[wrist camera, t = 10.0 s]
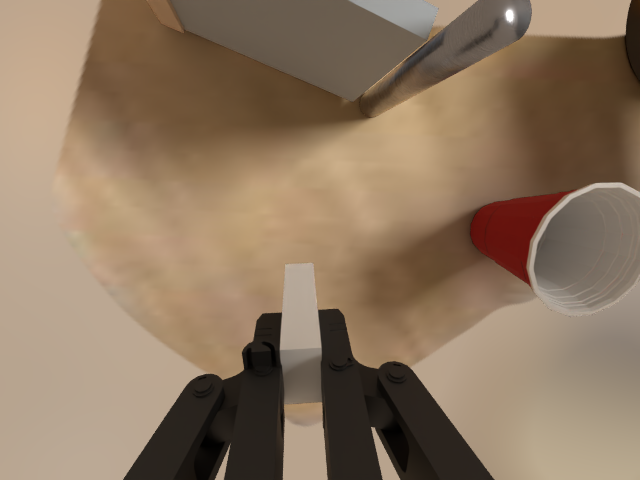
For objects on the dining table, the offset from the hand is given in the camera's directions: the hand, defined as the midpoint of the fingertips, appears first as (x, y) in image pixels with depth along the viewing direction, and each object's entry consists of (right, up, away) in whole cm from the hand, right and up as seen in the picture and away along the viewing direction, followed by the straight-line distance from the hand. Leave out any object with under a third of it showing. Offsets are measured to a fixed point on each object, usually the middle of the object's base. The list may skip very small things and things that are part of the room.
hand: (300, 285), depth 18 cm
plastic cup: (+20, +4, +19) cm, 28 cm away
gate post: (+6, +16, +14) cm, 21 cm away
